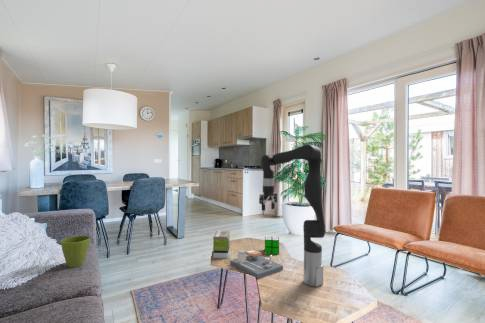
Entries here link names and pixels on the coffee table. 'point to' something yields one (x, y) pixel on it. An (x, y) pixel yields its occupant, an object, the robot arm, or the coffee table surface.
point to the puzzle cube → (271, 245)
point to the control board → (257, 266)
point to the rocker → (253, 253)
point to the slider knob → (242, 256)
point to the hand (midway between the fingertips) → (268, 209)
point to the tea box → (221, 244)
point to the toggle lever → (269, 259)
